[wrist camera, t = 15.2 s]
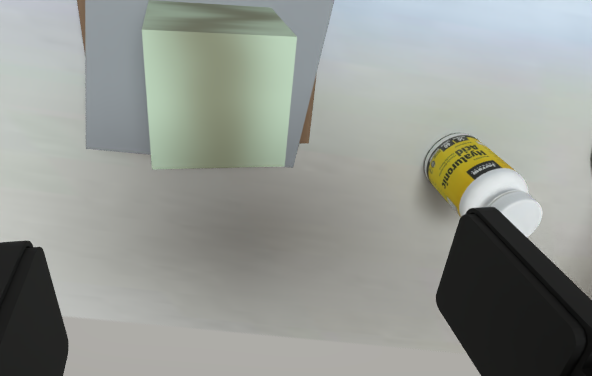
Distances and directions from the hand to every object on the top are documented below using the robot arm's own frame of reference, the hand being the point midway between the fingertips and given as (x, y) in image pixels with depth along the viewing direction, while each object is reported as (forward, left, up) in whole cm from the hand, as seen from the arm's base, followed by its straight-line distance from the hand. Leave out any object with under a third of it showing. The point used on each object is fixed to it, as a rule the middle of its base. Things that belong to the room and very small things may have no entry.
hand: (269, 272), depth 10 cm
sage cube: (0, 0, -17) cm, 17 cm away
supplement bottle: (-21, +11, -24) cm, 34 cm away
